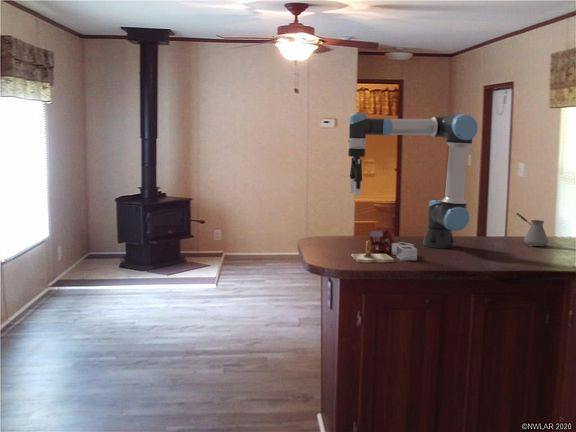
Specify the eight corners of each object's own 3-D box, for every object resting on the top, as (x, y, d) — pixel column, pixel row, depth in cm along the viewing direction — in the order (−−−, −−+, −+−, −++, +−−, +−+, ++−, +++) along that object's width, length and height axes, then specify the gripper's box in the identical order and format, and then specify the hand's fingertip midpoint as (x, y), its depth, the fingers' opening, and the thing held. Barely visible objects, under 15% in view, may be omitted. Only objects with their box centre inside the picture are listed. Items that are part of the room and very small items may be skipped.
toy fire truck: (395, 253, 277) (396, 231, 276) (369, 253, 276) (370, 231, 274) (391, 250, 284) (392, 228, 283) (365, 250, 283) (366, 228, 281)
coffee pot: (552, 247, 302) (555, 218, 299) (534, 248, 298) (537, 218, 295) (522, 239, 321) (524, 212, 319) (505, 240, 317) (507, 212, 315)
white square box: (411, 256, 270) (411, 246, 269) (416, 260, 263) (417, 249, 262) (396, 257, 268) (396, 246, 268) (401, 260, 262) (402, 249, 261)
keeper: (385, 256, 269) (386, 238, 268) (394, 262, 258) (395, 243, 257) (351, 256, 267) (351, 238, 266) (358, 262, 255) (358, 243, 254)
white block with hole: (401, 252, 279) (402, 242, 278) (413, 255, 273) (413, 244, 273) (391, 254, 274) (392, 243, 274) (403, 257, 269) (403, 246, 268)
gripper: (345, 146, 282) (343, 191, 285) (352, 148, 258) (350, 197, 261) (360, 147, 283) (358, 191, 286) (370, 149, 258) (367, 197, 261)
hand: (355, 194), depth 273 cm, fingers open, 13 cm apart
